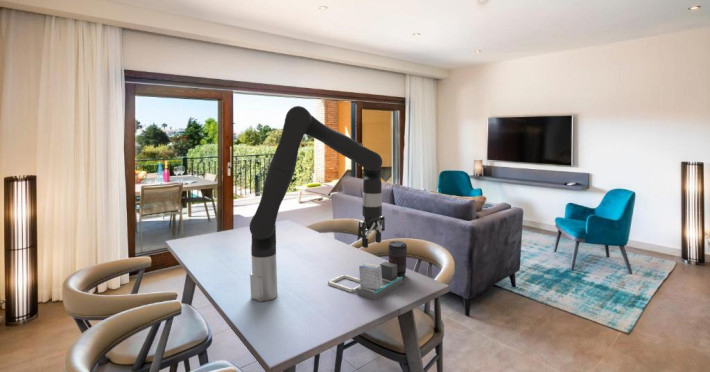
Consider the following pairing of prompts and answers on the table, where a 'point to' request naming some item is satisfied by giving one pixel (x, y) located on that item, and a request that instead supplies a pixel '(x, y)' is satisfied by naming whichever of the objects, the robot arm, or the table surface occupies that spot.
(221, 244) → the table surface
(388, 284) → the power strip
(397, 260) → the camera lens
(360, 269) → the medicine box
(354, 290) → the tray frame
